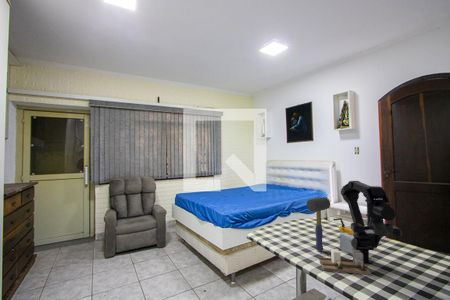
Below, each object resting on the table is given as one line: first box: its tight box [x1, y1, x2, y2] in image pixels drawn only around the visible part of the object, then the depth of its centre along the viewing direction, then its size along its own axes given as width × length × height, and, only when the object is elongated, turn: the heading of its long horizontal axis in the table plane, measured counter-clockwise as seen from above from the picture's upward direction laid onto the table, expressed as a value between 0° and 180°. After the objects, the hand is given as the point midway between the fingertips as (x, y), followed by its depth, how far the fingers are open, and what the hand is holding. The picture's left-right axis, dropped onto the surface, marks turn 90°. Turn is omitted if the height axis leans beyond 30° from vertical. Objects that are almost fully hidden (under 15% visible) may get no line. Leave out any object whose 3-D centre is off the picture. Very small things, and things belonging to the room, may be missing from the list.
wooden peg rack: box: [318, 250, 372, 275], centre depth 104 cm, size 9×20×7 cm, turn 80°
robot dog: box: [333, 217, 354, 236], centre depth 134 cm, size 6×18×13 cm, turn 29°
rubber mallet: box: [306, 196, 331, 252], centre depth 122 cm, size 12×8×30 cm, turn 116°
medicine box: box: [339, 232, 356, 255], centre depth 121 cm, size 8×4×9 cm, turn 27°
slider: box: [330, 248, 341, 267], centre depth 105 cm, size 7×3×6 cm, turn 170°
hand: (375, 247), depth 99 cm, fingers closed
